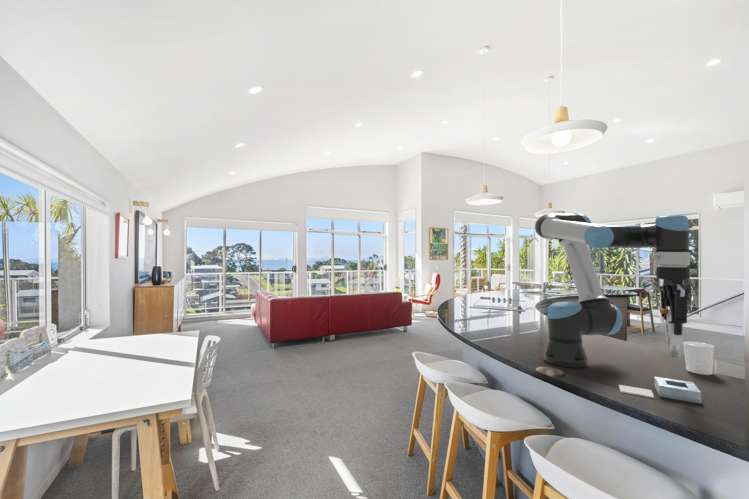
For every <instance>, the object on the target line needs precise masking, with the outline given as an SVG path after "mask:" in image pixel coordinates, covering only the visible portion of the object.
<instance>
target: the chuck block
mask: <svg viewBox="0 0 749 499" xmlns="http://www.w3.org/2000/svg"><path fill="white" fill-rule="evenodd" d="M654 388H655V391H656V392H657V395H658V396H659V397H661V398H666V399H671V400H677V401H683V402H688V403H695V404H702V402H703V401H702V392H701V391H700V389H699V387H698V386H697V385H696V384H695V383H694V381H686V380H681V379H675V378H674V379H672V378H666V377H659V376H654Z"/></svg>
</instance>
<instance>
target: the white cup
mask: <svg viewBox="0 0 749 499" xmlns="http://www.w3.org/2000/svg"><path fill="white" fill-rule="evenodd" d="M714 352H715V346H714V345H713V344H710V343H705V342H700V341H688V340H687V341H683V353H684V362H685V369H686V371H687V372H690V373H693V374H696V375H697V374H698V375H702V376H704V375H705V376H711V375H713V372H714V368H713V367H714V360H715V359H714V358H715V357H714V355H715V353H714Z"/></svg>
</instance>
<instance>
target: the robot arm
mask: <svg viewBox="0 0 749 499" xmlns="http://www.w3.org/2000/svg"><path fill="white" fill-rule="evenodd" d="M534 230H535V233H536V234H537V236H539V237H540V238H542V239H548V240H558V243H559V246H560V247H563V248H564V250H565V253H566V257H567V261H568V264H569V268H570V273H571V274H572V275H571V276H572V278H573V283H574V286H575V289H576V292H577V297H578V300H577V301H561V302H560V301H558V302H553V303H551V304H550V305H548V308H547V330H548V341H547V344H546V347H545V350H544V352H543V360H544V361H545V362H547V363H548V364H552V365H555V366H559V367H565V368H574V369H575V368H578V369H579V368H586V367H588V366H589V358H588V356H587V353H586V349H585V347H584V346H583V336H607V335H615V334H616V333H618V332H619V331H620V330H621V327H622V326H623V320H624V319H623V314H622V311H621V309H620V308H618V306H616V305H614V304H611V301H610V298H608V297H607V296H605V295H604V293H603V290H602V287H601V284H600V280H599V277H598V275H597V272H596V269H595V268H596V267H595V265H594V263H593V258H592V255H591V252H590V249H589V247H590V248H594V249H595V248H596V249H607V248H608V249H609V248H610V249H611V248H612V249H614V248H620V249H621V248H622V249H623V248H624V249H625V248H626V249H627V248H628V249H629V248H630V249H643V248H644V249H646V248H648V249H649V248H655V255H654V256H653V258H654V259H656V263H655V264H656V265H657V267H656V268H655V269H656V270H655V272H656V273H655V274H656V278H657V279H658V280H663V284H662V285H660V286H659V287H658V289H659V294H660V309H666V306H670V308H671V320H672V321H668V322H669V323H670V345H676V346H681V347H684V345H683V342H684V327H683V326H684V324H687V322H688V298H689V290H688V289H685V286H684V283H683V281H688V280H690V279H691V278H690V277H691V270H690V268H689V267H688V266H690V264H691V260H690V259H691V258H690V257H691V253H690V230H691V229H690V226H689V219H688V217H687V215H681V214H678V215H677V214H674V215H662V216H658V217H656V218H655V222H654V224H653V223H652V224H644V225H643V224H641V225H639V224H638V225H634V224H633V225H631V224H628V225H627V224H626V225H622V224H621V225H613V224H611V225H609V224H600V223H592V221H591V219H590V218H589V217H588V216H587V215H585V214H582V213H576V212H571V213H555V212H554V213H546V214H543V215H541V216H539V217H538V218H537V220H536V221H535V224H534ZM660 314H661V317H662V318H663V320H664V330H665V331H664V334H665V335H664V337H665V338H664V339H665V340H664V342H666V343H667V314H666V313H660Z"/></svg>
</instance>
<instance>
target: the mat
mask: <svg viewBox="0 0 749 499" xmlns="http://www.w3.org/2000/svg"><path fill="white" fill-rule="evenodd" d="M618 388H619V392H620V393H622V394H629V395H632V396H633V395H634V396H639V397H645V398H650V399H655V395H654V393H653V391H652V389H648V388H642V387H637V386H636V387H634V386H629V385H623V384H618Z"/></svg>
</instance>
